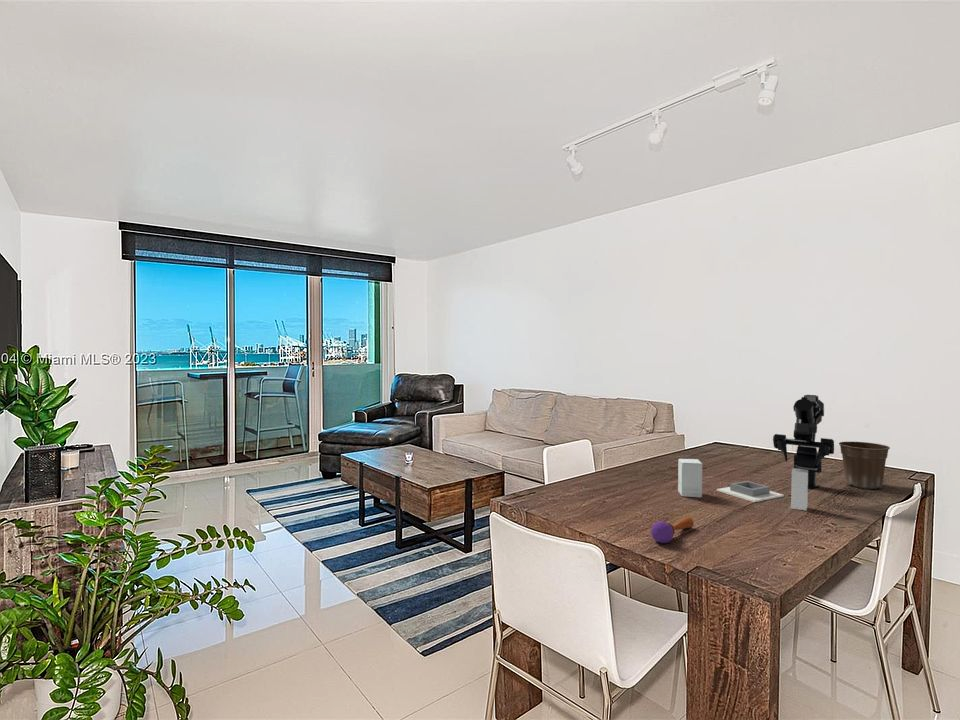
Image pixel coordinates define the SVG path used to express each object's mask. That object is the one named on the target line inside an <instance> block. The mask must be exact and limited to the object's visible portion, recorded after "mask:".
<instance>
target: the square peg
mask: <svg viewBox="0 0 960 720" xmlns="http://www.w3.org/2000/svg"><path fill="white" fill-rule="evenodd" d="M790 490H791V491H790V493H791V494H790V495H791V497H790V509H792V510H797V511H798V510H799V511H805V512H807V511H808V504H809V503H808V497H809V494H808V493H809V492H808V490H809V488H808V470H804V469H796V468H794V467H793V468H792V470H791V488H790Z"/></svg>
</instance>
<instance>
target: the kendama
mask: <svg viewBox="0 0 960 720" xmlns="http://www.w3.org/2000/svg"><path fill="white" fill-rule="evenodd" d="M694 525H695V523H694V520H693V519H692V517H690V516H685V517H684V518H682V519H680V520H679V521H678V522H676V523H675V524H671V523H670V522H666V521H663V520H662V521H661V520H660V521H656V522H655V523H654V524H652V527H651V529H650V535H651V536H652V537H651V538H653V540H654V541H656V542H657V543H659V542H660V544H667V543H670V542H671V541H672V540H673V537H674V535H675V532H676V531H675V530H684V529H690V527H691V528H693V526H694Z"/></svg>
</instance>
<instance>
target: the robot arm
mask: <svg viewBox="0 0 960 720" xmlns="http://www.w3.org/2000/svg"><path fill="white" fill-rule="evenodd" d="M792 408H793V411H794V413H795V418H796V419H795V420H796V421H795V422H794V430H793V438H787V436H786V434H778V433H775V434H774V435H773V436H772V437H773V438H772V441H773V442H772V443H773V447H774V449H777V450H778V451H780V452H781V453H782V455H783V458H784V461H785V463H788V451H787V450H788V448H787V445H789V446H790V445H791V446H797V449H796V452H795V453H796V454H794V456H793V468H796V469H804V470H808V489H815V488H819V487H820V485H819V484H816V480H817V475H816V474H819V473H822V470H823V469H822V459H824V458H825V457H826V456H830V455H833V454H835V440H833V438H823V437H821V438H820V441H816V436H817V435H816V434H817V432H818V425H819V424H820V423H821V422H822V421H823V420H822V419H823V417H825V403H824V402H823V401H821V399H819V395H816V394H805V395H803V396H802V397H801V398H799V399H798V400H796V401H795V402H794V405H793V406H792ZM817 449H818V450H817Z"/></svg>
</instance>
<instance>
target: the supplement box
mask: <svg viewBox="0 0 960 720" xmlns="http://www.w3.org/2000/svg"><path fill="white" fill-rule="evenodd" d="M677 469H678V471H677V473H678V476H677V479H678V481H677V492H678V493H679V494H680V496H681V497H685V498H686V497H688V498H692V497H693V498H702V497H703V463H702V461H700V459H696V458H695V459H694V458H678V465H677Z"/></svg>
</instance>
